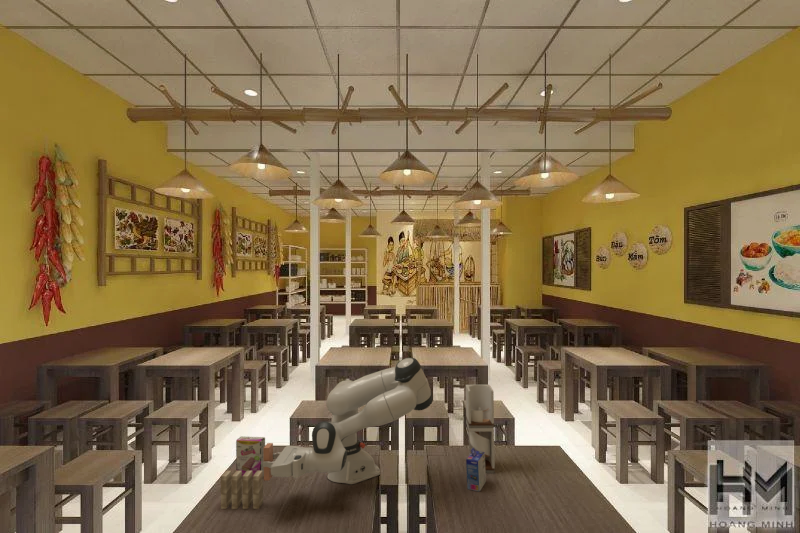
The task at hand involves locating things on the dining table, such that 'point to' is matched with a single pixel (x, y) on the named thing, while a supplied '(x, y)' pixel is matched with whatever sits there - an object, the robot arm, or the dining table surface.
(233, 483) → the cream domino
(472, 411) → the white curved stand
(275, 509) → the dining table surface
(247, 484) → the cream domino
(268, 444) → the terracotta domino
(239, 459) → the candy bar box
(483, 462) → the ink cartridge box
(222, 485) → the cream domino
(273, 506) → the dining table surface
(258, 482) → the cream domino
